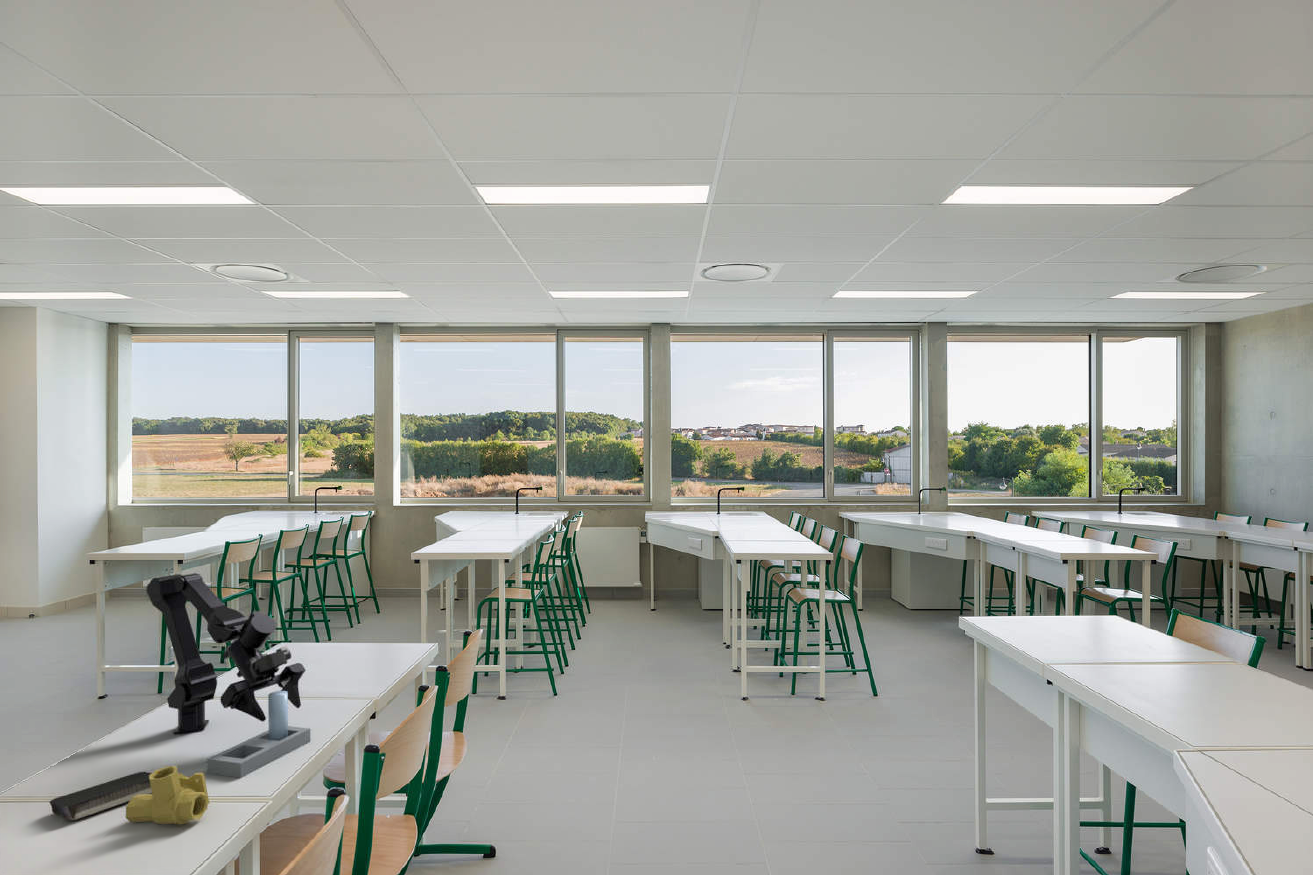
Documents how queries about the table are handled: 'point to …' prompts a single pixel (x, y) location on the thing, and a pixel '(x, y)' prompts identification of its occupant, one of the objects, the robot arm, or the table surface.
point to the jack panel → (256, 753)
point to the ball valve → (170, 798)
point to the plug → (278, 715)
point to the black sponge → (101, 796)
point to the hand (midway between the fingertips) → (282, 713)
